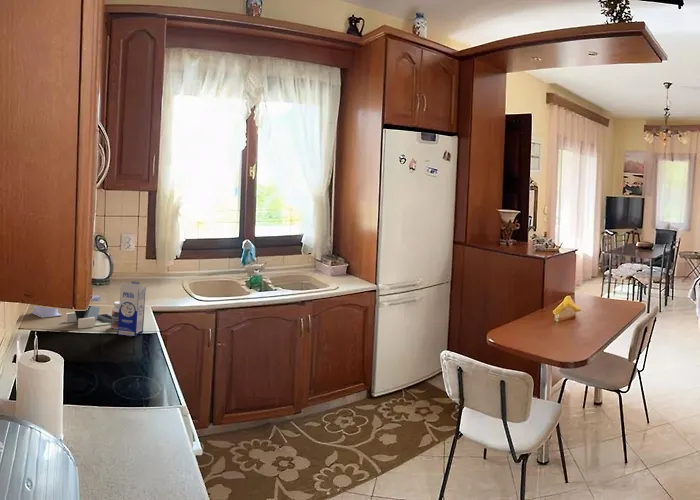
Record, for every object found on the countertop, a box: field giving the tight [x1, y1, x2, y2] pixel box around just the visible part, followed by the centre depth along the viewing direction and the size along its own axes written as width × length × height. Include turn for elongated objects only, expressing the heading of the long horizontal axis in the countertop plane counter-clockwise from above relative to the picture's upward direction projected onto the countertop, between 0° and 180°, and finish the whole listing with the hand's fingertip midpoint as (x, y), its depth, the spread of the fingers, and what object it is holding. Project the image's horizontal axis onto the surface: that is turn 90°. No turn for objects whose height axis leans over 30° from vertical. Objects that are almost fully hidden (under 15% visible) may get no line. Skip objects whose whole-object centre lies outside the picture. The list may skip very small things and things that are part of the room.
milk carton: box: [117, 280, 147, 337], centre depth 217 cm, size 7×7×20 cm
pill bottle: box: [110, 300, 120, 330], centre depth 225 cm, size 6×6×10 cm
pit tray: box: [97, 313, 112, 323], centre depth 233 cm, size 11×4×2 cm, turn 51°
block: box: [76, 305, 101, 324], centre depth 228 cm, size 5×5×6 cm
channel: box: [65, 311, 111, 329], centre depth 227 cm, size 11×12×4 cm
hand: (79, 320), depth 224 cm, fingers closed
